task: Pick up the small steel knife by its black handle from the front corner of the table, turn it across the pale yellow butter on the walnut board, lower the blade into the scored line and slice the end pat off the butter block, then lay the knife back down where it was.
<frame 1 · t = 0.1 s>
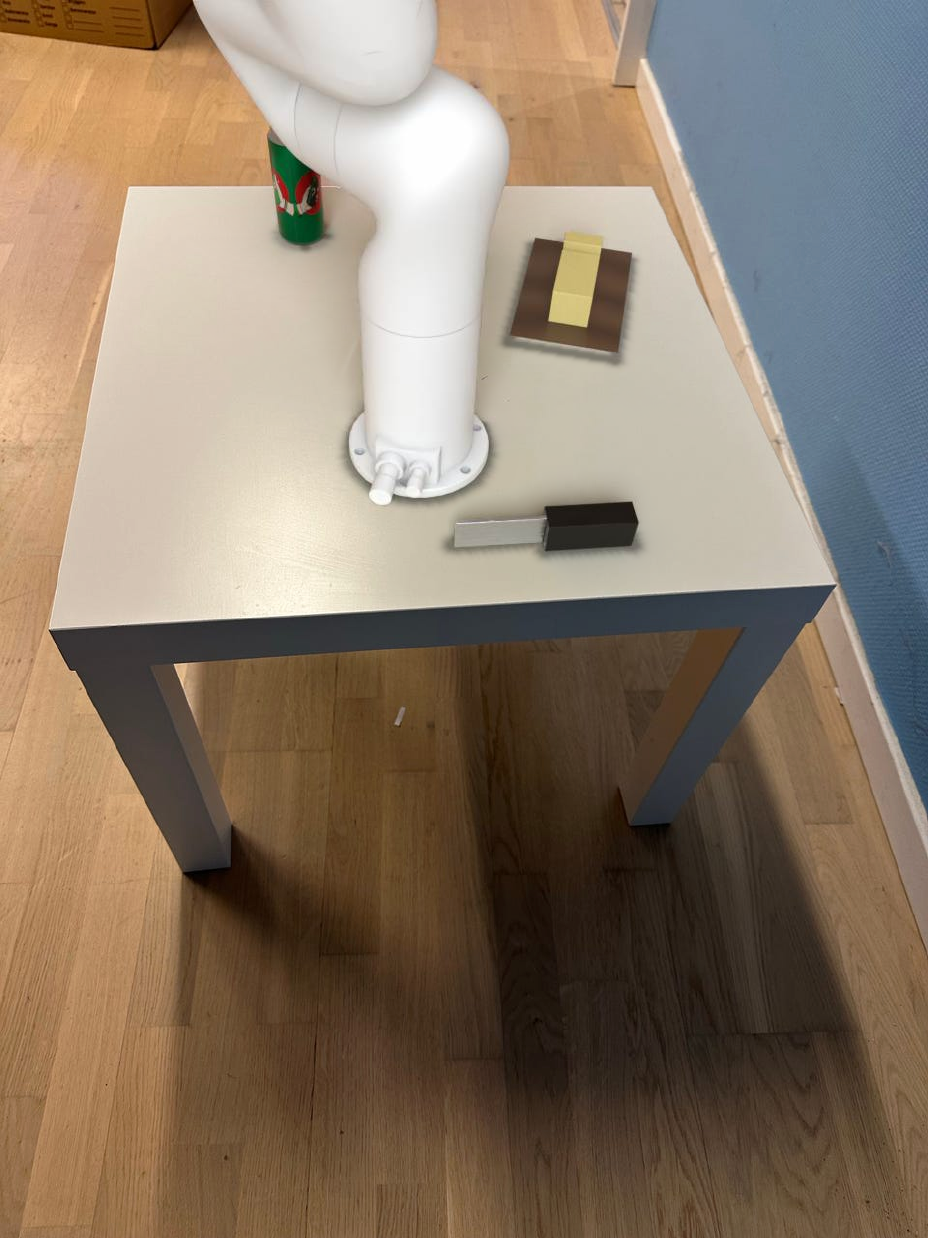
butter block: (571, 302, 93), point 1 cm above the table, touching board
butter pat: (578, 268, 97), point 1 cm above the table, touching board
knife: (542, 540, 75), on the table
soda can: (302, 236, 100), on the table
ramekin: (439, 268, 98), on the table
board: (572, 299, 95), on the table
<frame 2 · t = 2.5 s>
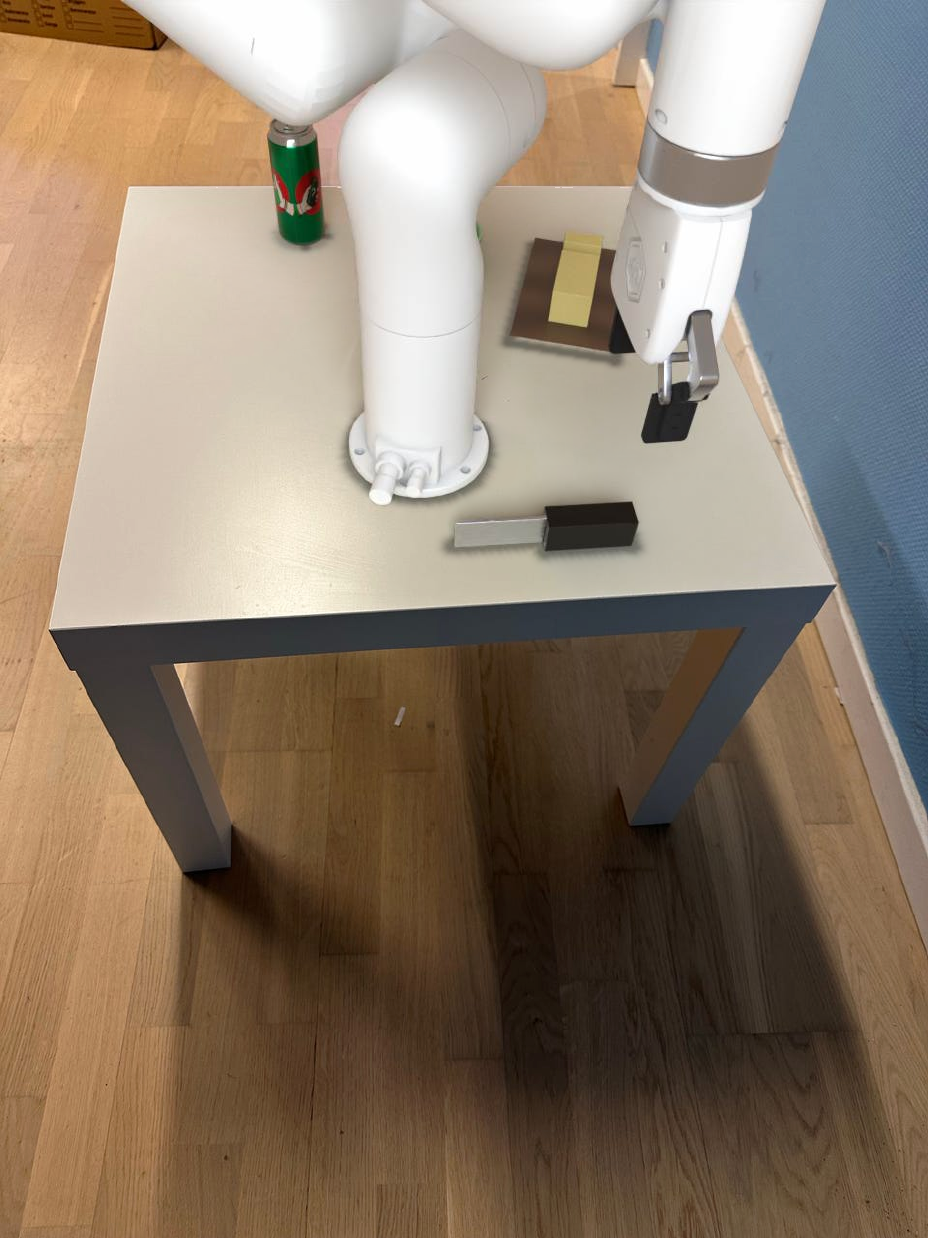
hand: (645, 393, 65), 15 cm above the table, tool pointing down, fingers open, 9 cm apart
nothing on the table moved.
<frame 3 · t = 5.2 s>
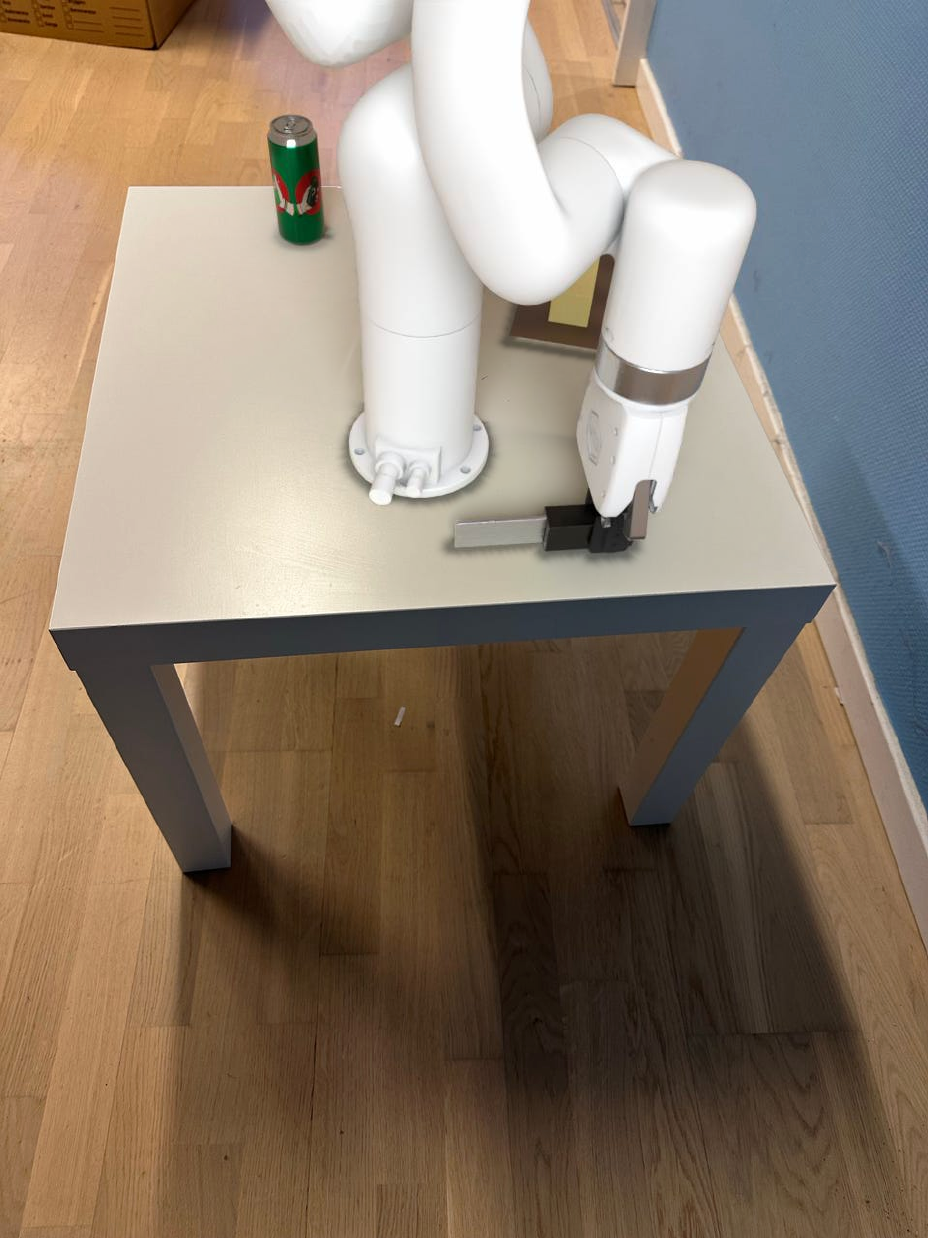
hand: (603, 534, 76), 0 cm above the table, tool pointing down, fingers closed on knife, 2 cm apart
knife: (542, 540, 75), on the table, touching gripper
everything else where it was.
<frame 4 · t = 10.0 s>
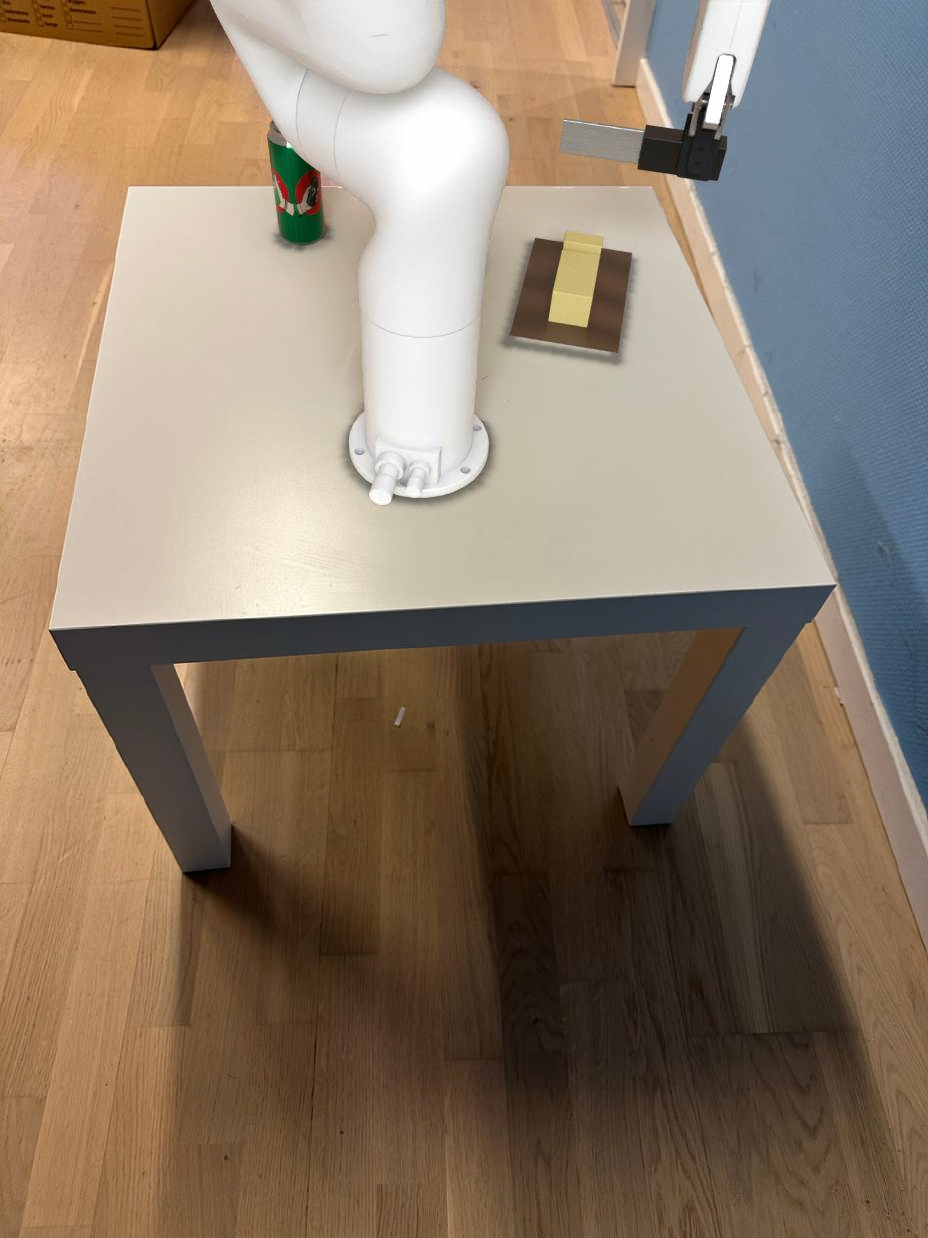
hand: (693, 167, 83), 15 cm above the table, tool pointing down, fingers closed on knife, 2 cm apart
knife: (638, 162, 84), point 15 cm above the table, touching gripper
everything else where it was.
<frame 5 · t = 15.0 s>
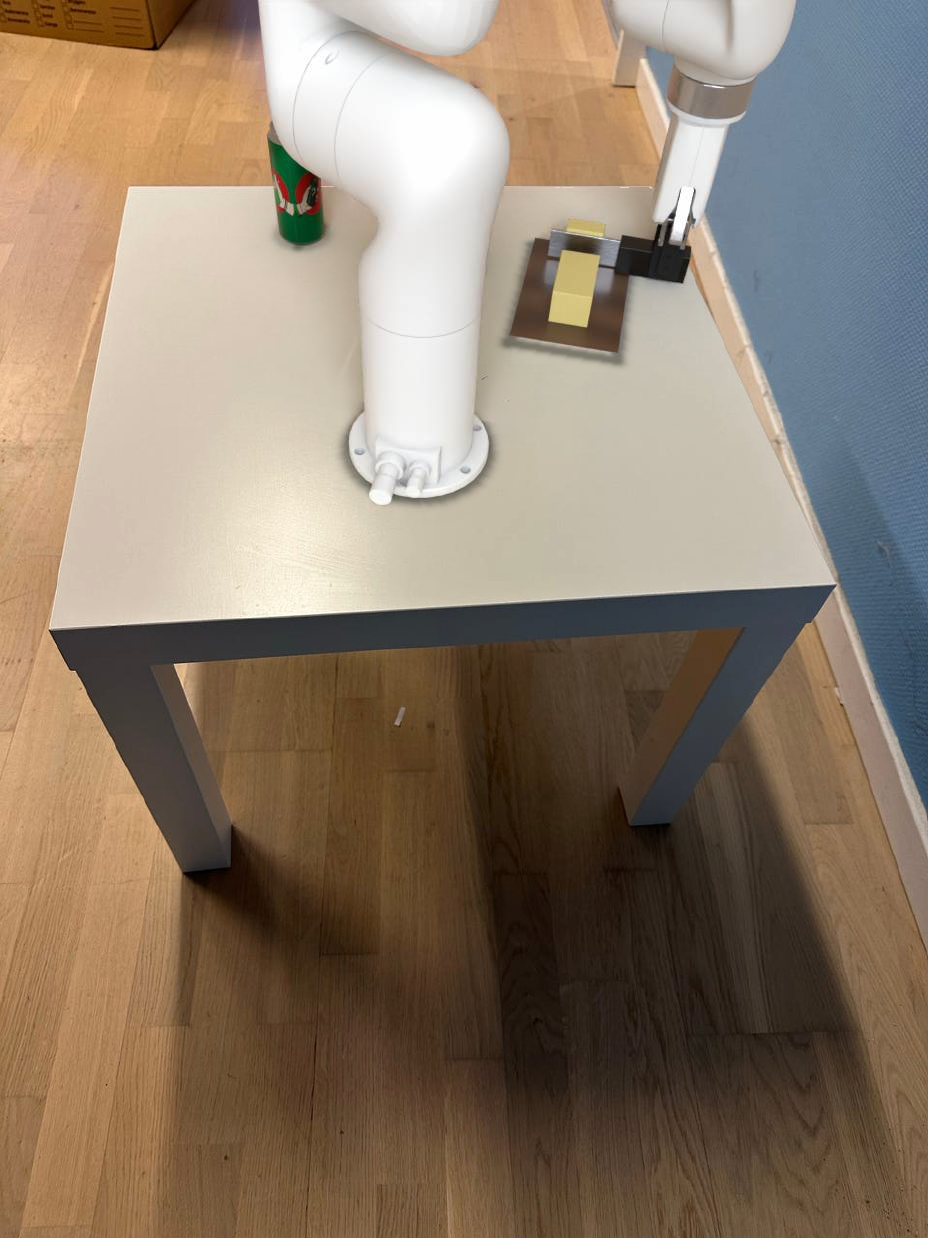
hand: (663, 268, 97), 2 cm above the table, tool pointing down, fingers closed on knife, 2 cm apart
butter pat: (581, 255, 99), point 1 cm above the table, touching board, knife
knife: (615, 265, 97), point 1 cm above the table, touching butter pat, gripper
everything else where it was.
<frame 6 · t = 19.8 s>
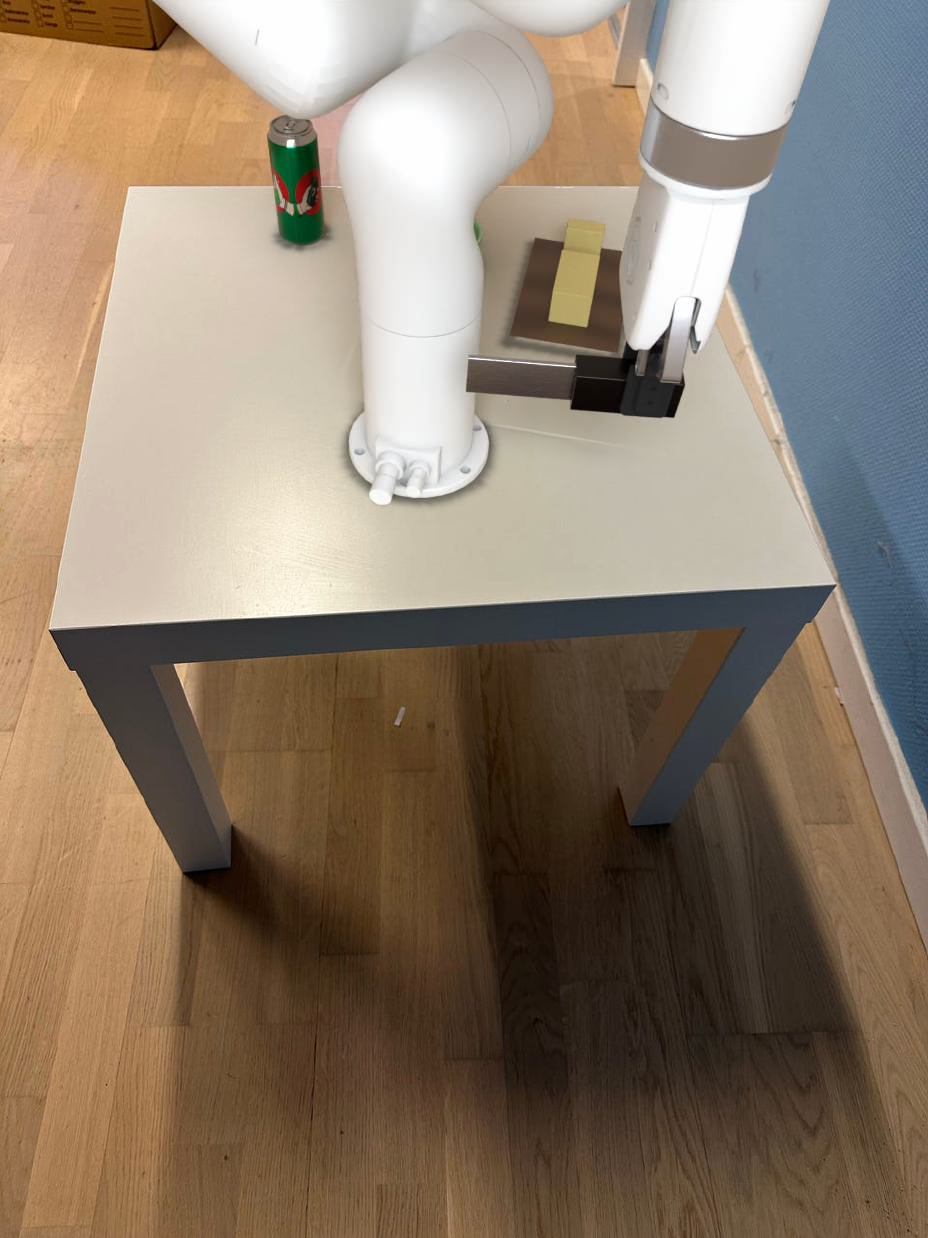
hand: (640, 397, 64), 15 cm above the table, tool pointing down, fingers closed on knife, 2 cm apart
butter pat: (581, 255, 99), point 1 cm above the table, touching board
knife: (569, 398, 64), point 15 cm above the table, touching gripper
everything else where it was.
when the fingers open (1 cm above the table, at t = 23.5 s): knife stays where it is, on the table.
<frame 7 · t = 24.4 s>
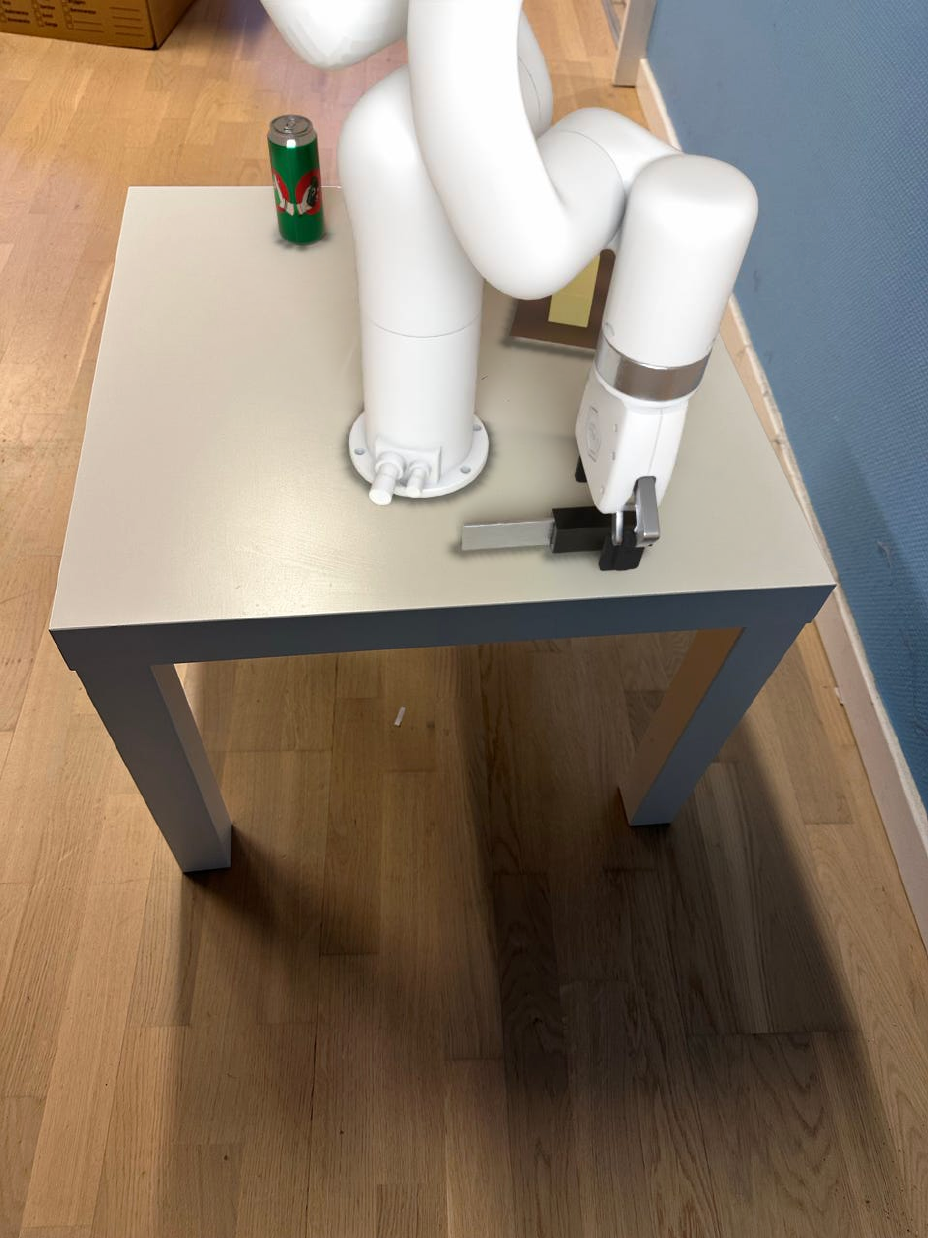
hand: (604, 521, 75), 2 cm above the table, tool pointing down, fingers open, 9 cm apart
knife: (549, 542, 75), on the table
everything else where it was.
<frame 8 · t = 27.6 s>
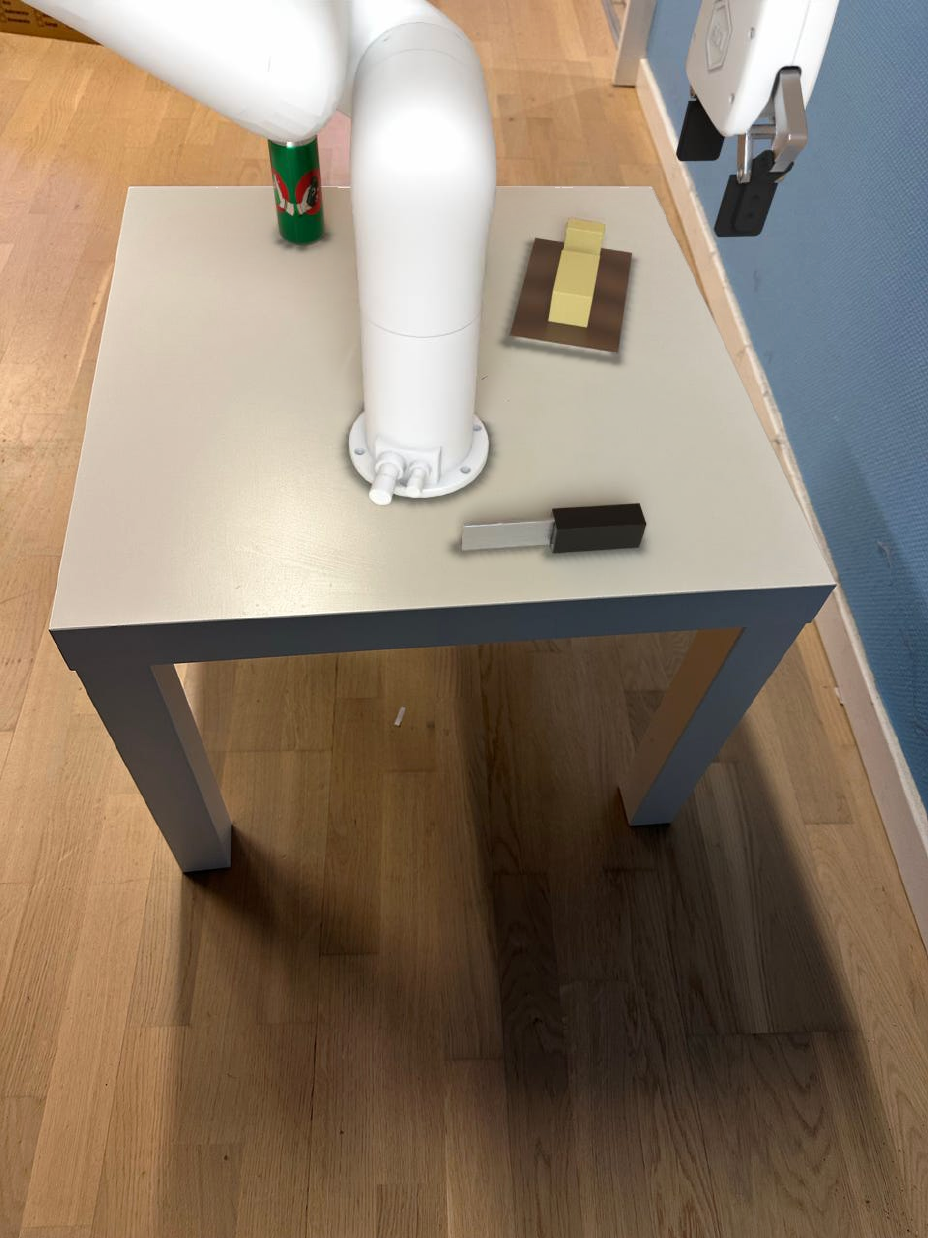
hand: (715, 194, 63), 24 cm above the table, tool pointing down, fingers open, 9 cm apart
nothing on the table moved.
at the end: butter pat moved 2.5 cm from its start; butter block moved 0.0 cm from its start; knife touching table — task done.
